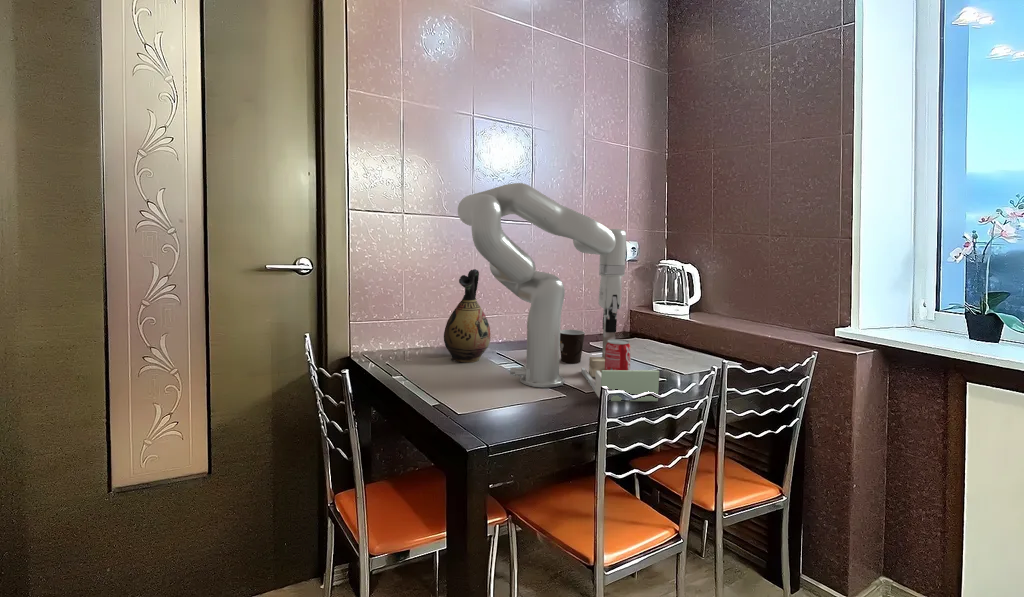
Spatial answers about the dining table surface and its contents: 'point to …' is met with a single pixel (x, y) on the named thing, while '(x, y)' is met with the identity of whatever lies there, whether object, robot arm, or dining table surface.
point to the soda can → (617, 355)
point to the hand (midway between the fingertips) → (609, 330)
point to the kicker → (599, 362)
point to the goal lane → (626, 382)
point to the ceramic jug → (467, 325)
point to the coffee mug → (571, 346)
